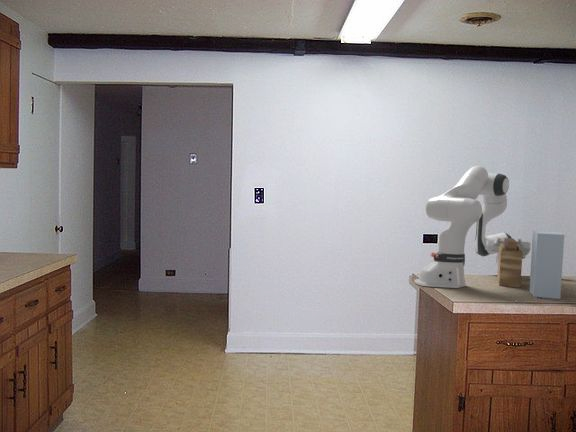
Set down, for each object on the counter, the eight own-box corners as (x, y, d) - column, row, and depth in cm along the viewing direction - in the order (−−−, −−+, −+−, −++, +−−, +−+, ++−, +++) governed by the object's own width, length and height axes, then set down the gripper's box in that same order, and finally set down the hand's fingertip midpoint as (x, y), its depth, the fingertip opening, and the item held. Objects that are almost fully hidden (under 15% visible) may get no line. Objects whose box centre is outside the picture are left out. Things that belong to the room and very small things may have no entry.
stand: (560, 299, 242) (564, 234, 240) (533, 296, 245) (537, 233, 243) (554, 292, 257) (558, 231, 256) (529, 290, 260) (533, 230, 259)
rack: (520, 287, 267) (522, 248, 266) (499, 285, 270) (501, 246, 269) (517, 281, 283) (519, 244, 282) (497, 280, 285) (499, 243, 284)
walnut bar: (516, 251, 267) (517, 242, 267) (507, 250, 268) (507, 241, 268) (512, 246, 286) (513, 238, 286) (504, 246, 287) (504, 237, 287)
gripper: (485, 244, 302) (486, 232, 290) (528, 247, 296) (531, 235, 284) (484, 256, 299) (486, 244, 287) (528, 258, 294) (532, 247, 282)
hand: (509, 239), depth 286 cm, fingers open, 8 cm apart
